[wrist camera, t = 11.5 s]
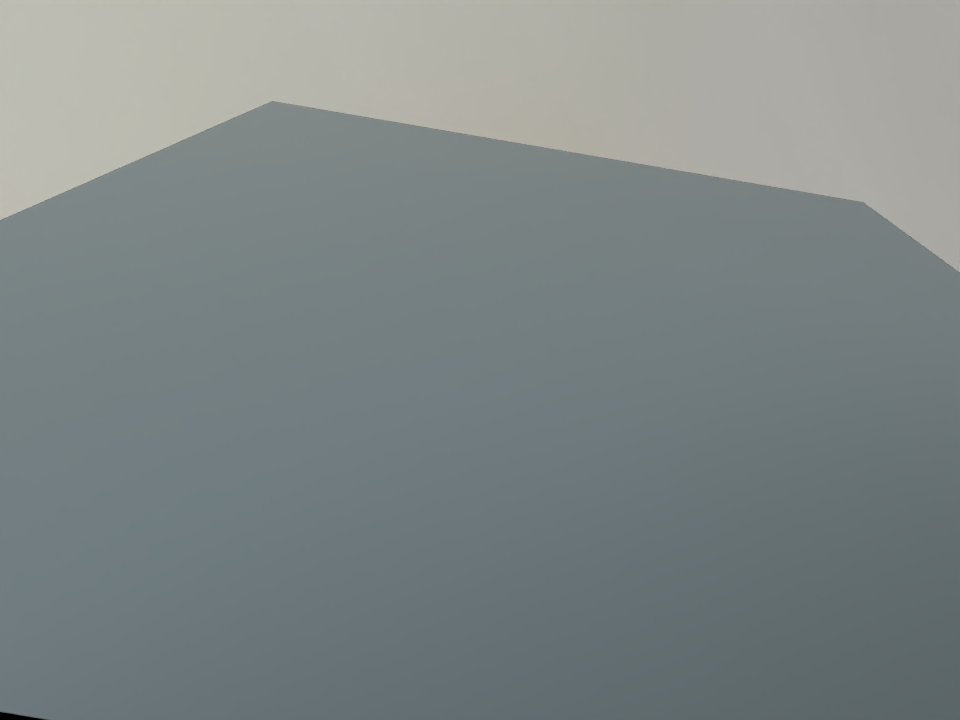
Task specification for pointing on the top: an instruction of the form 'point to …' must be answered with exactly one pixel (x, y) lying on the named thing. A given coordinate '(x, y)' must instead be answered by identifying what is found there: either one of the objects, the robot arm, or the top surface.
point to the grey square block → (470, 440)
